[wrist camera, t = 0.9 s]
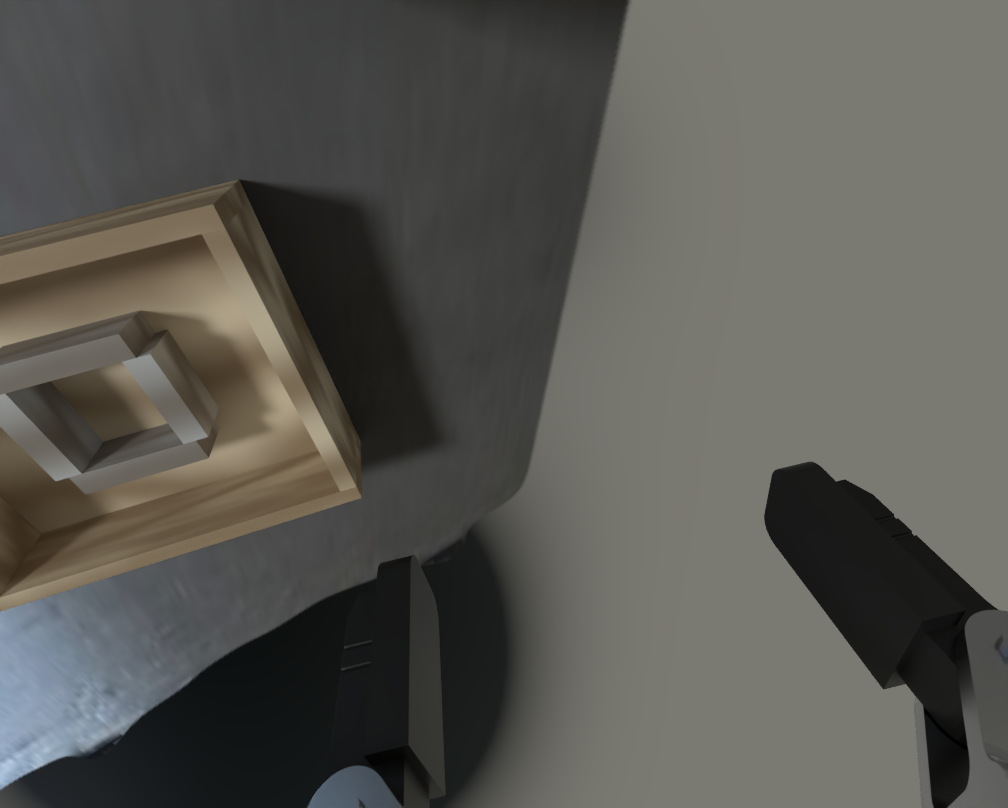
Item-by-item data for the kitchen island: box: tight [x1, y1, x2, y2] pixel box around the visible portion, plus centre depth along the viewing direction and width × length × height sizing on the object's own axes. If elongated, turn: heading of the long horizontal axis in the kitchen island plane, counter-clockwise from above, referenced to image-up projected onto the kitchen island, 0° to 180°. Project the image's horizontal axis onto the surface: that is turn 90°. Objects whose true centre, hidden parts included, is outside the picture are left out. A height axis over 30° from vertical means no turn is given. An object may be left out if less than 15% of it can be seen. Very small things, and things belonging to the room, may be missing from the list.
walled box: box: [0, 180, 362, 611], centre depth 27 cm, size 18×22×6 cm
